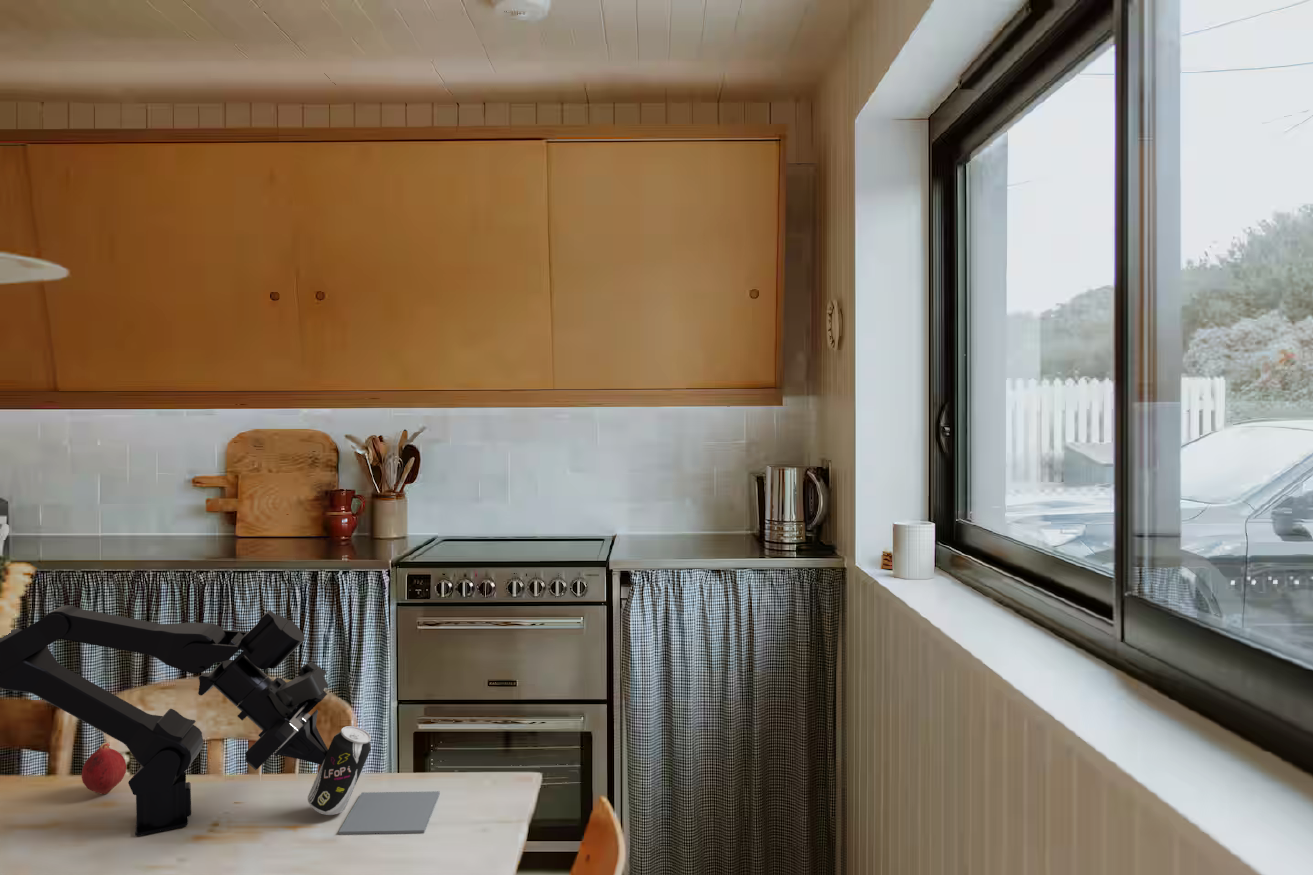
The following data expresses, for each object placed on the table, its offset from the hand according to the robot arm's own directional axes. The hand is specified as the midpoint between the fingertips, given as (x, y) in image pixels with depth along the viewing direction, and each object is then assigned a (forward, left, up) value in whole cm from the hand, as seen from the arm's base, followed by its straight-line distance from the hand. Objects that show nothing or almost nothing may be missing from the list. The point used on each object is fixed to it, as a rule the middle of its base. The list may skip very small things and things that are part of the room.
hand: (330, 762), depth 129 cm
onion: (-30, +22, -8) cm, 38 cm away
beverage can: (-1, 0, -7) cm, 7 cm away
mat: (+8, -4, -8) cm, 12 cm away
